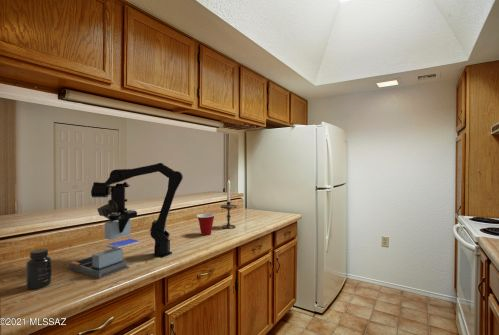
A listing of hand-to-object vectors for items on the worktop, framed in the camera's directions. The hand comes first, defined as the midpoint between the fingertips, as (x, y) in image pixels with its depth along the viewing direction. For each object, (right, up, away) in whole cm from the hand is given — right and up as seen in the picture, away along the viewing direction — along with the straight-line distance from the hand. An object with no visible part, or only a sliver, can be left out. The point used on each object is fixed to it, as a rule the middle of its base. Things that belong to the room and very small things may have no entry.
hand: (117, 231), depth 122 cm
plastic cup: (+33, -11, +40) cm, 53 cm away
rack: (-1, -11, -14) cm, 18 cm away
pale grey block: (0, -2, 0) cm, 2 cm away
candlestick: (+45, -11, +59) cm, 75 cm away
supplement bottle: (-12, -12, -30) cm, 34 cm away
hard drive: (-6, -12, +19) cm, 23 cm away
